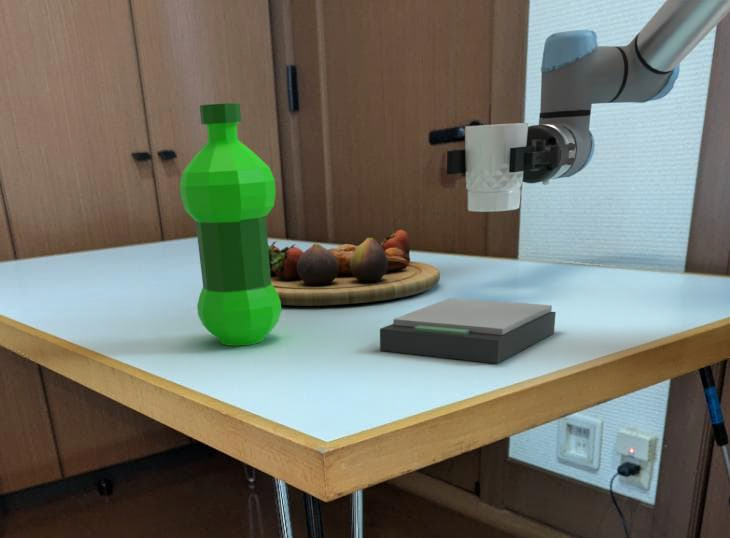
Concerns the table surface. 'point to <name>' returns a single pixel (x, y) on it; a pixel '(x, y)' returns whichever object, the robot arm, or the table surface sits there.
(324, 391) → the table surface
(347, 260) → the wooden plate
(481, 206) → the white cup
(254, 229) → the plastic bottle
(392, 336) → the kitchen scale
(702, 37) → the robot arm
